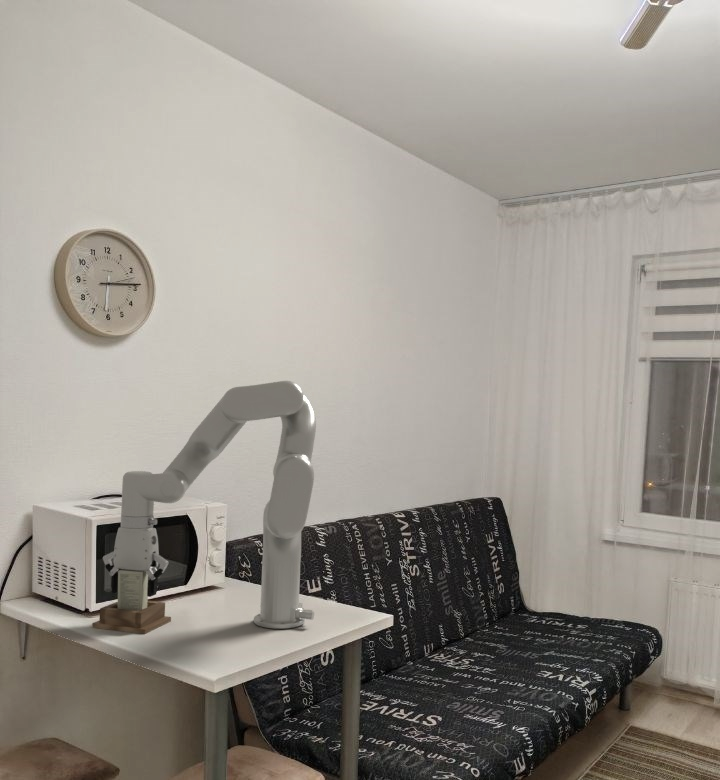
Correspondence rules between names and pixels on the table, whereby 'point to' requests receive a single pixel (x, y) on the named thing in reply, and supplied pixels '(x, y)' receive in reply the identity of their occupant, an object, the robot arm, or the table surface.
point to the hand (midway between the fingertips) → (133, 593)
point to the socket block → (132, 618)
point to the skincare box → (132, 590)
